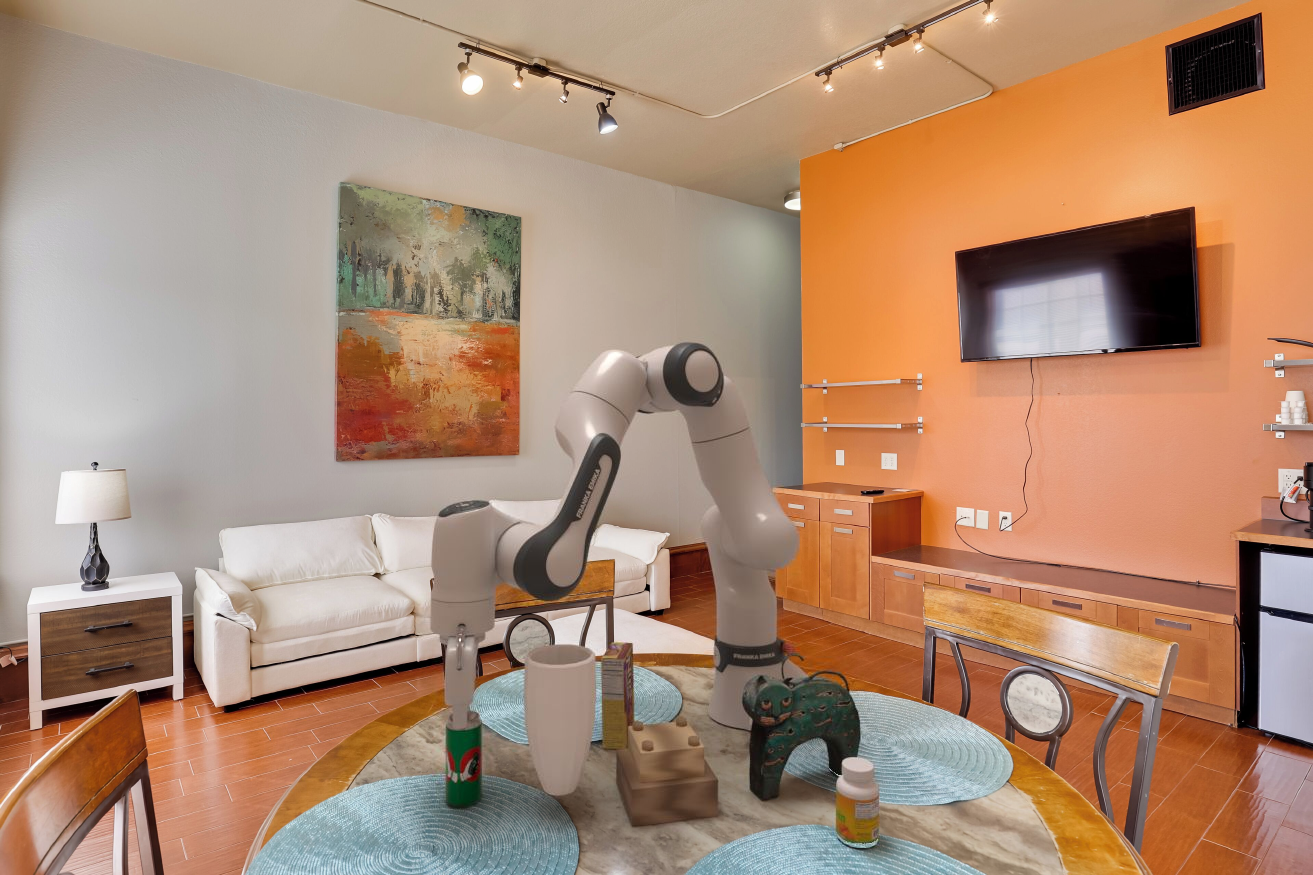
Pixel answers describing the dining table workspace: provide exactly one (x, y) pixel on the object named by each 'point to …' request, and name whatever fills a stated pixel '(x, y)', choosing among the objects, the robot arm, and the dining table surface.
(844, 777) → the supplement bottle
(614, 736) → the candy box
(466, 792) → the soda can
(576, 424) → the robot arm
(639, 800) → the tower base
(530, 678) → the cup
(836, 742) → the ceramic cat
